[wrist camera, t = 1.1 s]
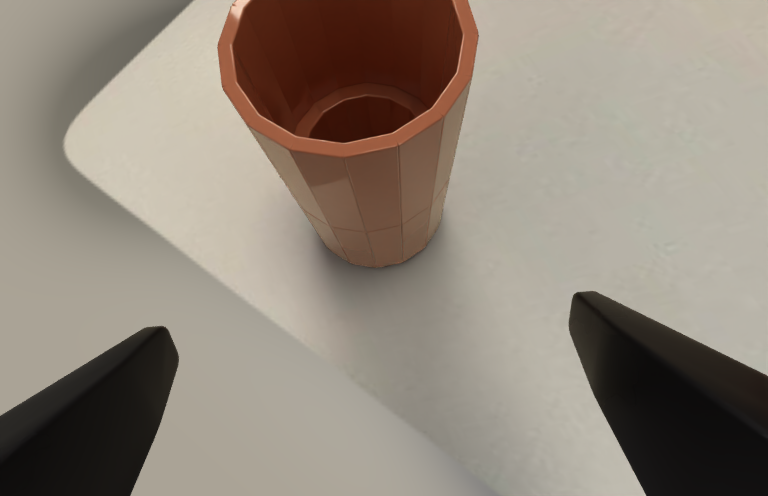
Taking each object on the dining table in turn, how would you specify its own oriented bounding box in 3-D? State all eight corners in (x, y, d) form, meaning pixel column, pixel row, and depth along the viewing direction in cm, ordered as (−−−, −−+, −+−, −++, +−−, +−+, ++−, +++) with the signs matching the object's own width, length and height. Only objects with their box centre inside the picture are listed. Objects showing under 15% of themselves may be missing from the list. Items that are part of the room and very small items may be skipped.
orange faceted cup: (430, 280, 23) (456, 174, 11) (301, 257, 24) (184, 134, 11) (449, 160, 25) (492, -49, 12) (330, 143, 26) (257, -71, 13)
